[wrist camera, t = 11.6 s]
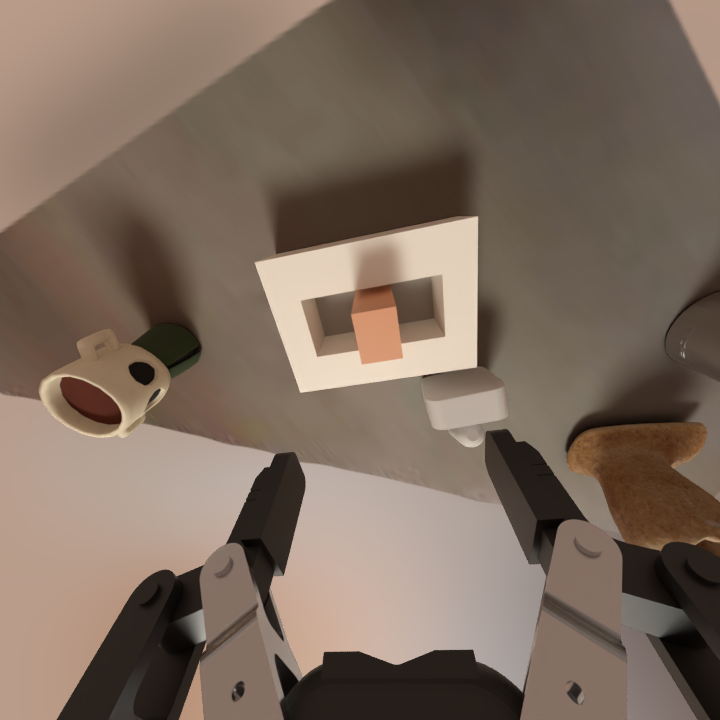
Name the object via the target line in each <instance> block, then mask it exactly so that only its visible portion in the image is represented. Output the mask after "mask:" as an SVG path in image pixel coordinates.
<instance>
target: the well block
mask: <svg viewBox="0 0 720 720" xmlns="http://www.w3.org/2000/svg"><path fill="white" fill-rule="evenodd" d="M255 265H256V267H257V270H258V273H259V276H260V279H261V282H262V284H263V287H264V290H265V293H266V296H267V299H268V301H269V304H270V307H271V310H272V313H273V316H274V318H275V321H276V324H277V327H278V330H279V333H280V335H281V338H282V341H283V344H284V347H285V350H286V352H287V355H288V358H289V361H290V364H291V367H292V370H293V372H294V375H295V378H296V381H297V384H298V387H299V389H300V392H301V393H302V392H309V391H316V390H322V389H329V388H336V387H343V386H350V385H357V384H364V383H371V382H378V381H385V380H392V379H399V378H406V377H413V376H420V375H427V374H434V373H441V372H448V371H455V370H462V369H469V368H476V367H477V292H478V216H456V217H451V218H446V219H442V220H437V221H432V222H427V223H422V224H418V225H413V226H408V227H403V228H398V229H394V230H389V231H384V232H379V233H375V234H370V235H365V236H360V237H355V238H351V239H346V240H341V241H336V242H331V243H327V244H322V245H317V246H312V247H308V248H303V249H298V250H293V251H288V252H284V253H279V254H275V255H272V256H270V257H267V258H265V259H262V260H260V261H257V262H255ZM388 284H390V286H391V290H392V293H393V297H394V301H395V304H396V309H397V317H398V324H399V331H400V339H401V346H402V354H403V358H402V359H395V360H389V361H382V362H376V363H369V364H362V363H361V358H360V354H359V349H358V344H357V340H356V335H355V331H354V326H353V321H352V317H351V312H352V307H353V302H354V297H355V292H356V290H361V289H366V288H371V287H377V286H382V285H388Z"/></svg>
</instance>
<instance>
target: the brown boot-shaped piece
mask: <svg viewBox="0 0 720 720" xmlns="http://www.w3.org/2000/svg"><path fill="white" fill-rule="evenodd" d="M706 437H707V429H706V427H705V426H704V425H703V424H702V423H695V422H674V423H644V424H627V425H616V426H606V427H598V428H593V429H589V430H586V431H584V432H583V433H581V434H580V435H579V436H577V437H576V439H575V440H574V441H573V443H572V444H571V447H570V448H569V451H568V454H567V464H568V465H569V469H570V470H571V471H572V472H575V473H578V474H583V475H588V476H593V477H594V478H595V479H596V480H597V481H598V482H599V483H600V485H601V487H602V489H603V492H604V495H605V498H606V501H607V504H608V507H609V510H610V513H611V515H612V518H613V520H614V522H615V524H616V526H617V527H618V529H619V531H620V533H621V535H622V537H623V539H624V541H625V542H626V543H629V544H633V545H638V546H642V547H646V548H651V549H655V550H659V551H661V549H662V548H663V546H664V545H666V544H667V543H670V542H684V543H689V544H693V545H696V546H698V547H701V548H703V549H705V550H707V551H709V552H711V553H713V554H715V555H716V556H718V557H720V502H719V501H718V500H716V499H715V498H714V497H713V496H712V495H710V494H709V493H708V492H706V491H705V490H703V489H702V488H700V487H699V486H697V485H696V484H694V483H693V482H691V481H690V480H688V479H687V478H686V477H684V476H683V475H681V474H680V473H679V472H677V471H676V470H675V469H674V468H676V467H678V465H681V464H683V463H686V462H688V461H689V460H691V459H692V458H694V457H695V456H696V455H697V454H698V453H699V452H700V450H701V449H702V447H703V445H704V444H705V440H706Z"/></svg>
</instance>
